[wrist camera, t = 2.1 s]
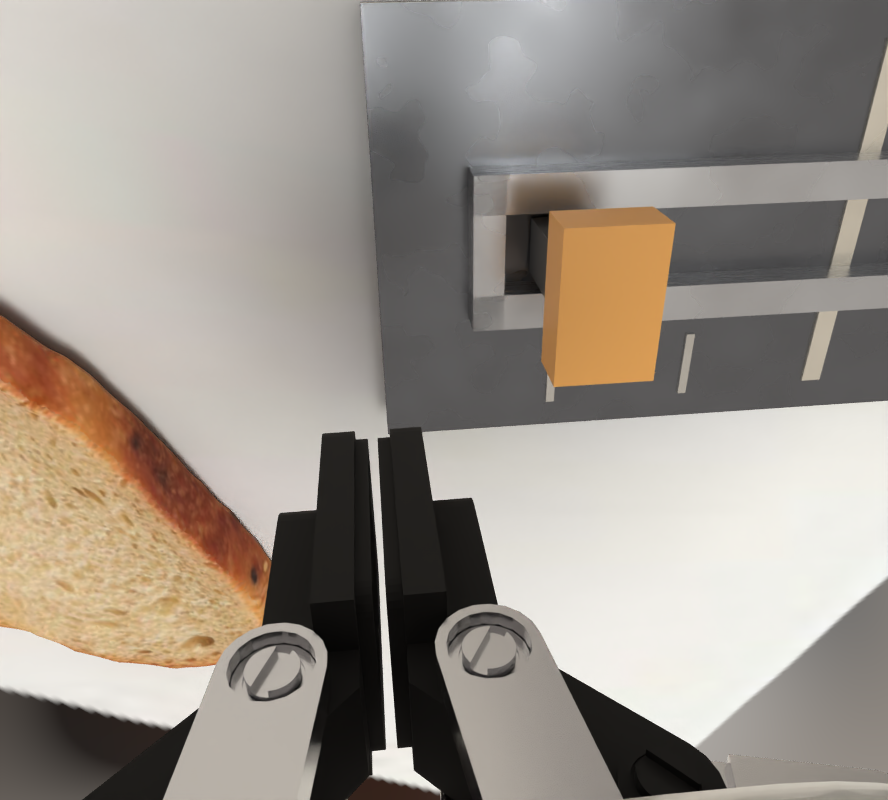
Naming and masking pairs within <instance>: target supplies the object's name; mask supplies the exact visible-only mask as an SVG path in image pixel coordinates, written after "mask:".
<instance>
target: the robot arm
mask: <svg viewBox="0 0 888 800" xmlns="http://www.w3.org/2000/svg"><path fill="white" fill-rule="evenodd" d="M378 454H379V473H380V492H381V511H382V530H383V549H384V568H385V586H386V602H387V616H388V629H389V642H390V655H391V668H392V681H393V694H394V707H395V720H396V733H397V746H398V748H405V747H412V751H413V764H414V770H415V771H416V772H417V773H418V774H420V775H421V776H422V777H424V778H425V779H426V780H428V781H429V782H430V783H431V784H433V785H434V786H435V787H437V788H438V789H439V790H440V796H441V800H888V773H886V772H882V771H879V770H872V769H862V768H854V767H845V766H844V767H843V766H835V765H826V764H817V763H807V762H798V761H788V760H779V759H770V758H760V757H751V756H741V755H733V754H729V755H728V759H727V763H726V762H717V761H710V760H709V759H708V758H707V757H706V756H705V755H704V754H703V753H701V752H700V751H699V750H697V749H696V748H695V747H693V746H692V745H690V744H689V743H687V742H686V741H684V740H682V739H680V738H679V737H677V736H675V735H673V734H672V733H670V732H668V731H666V730H665V729H663V728H661V727H659V726H658V725H656V724H654V723H652V722H651V721H649V720H647V719H645V718H644V717H642V716H640V715H638V714H637V713H635V712H633V711H631V710H630V709H628V708H626V707H624V706H623V705H621V704H619V703H617V702H616V701H614V700H612V699H610V698H609V697H607V696H605V695H604V694H602V693H600V692H598V691H597V690H595V689H593V688H591V687H590V686H588V685H586V684H584V683H583V682H581V681H579V680H577V679H576V678H574V677H572V676H570V675H569V674H567V673H565V672H563V671H562V670H560V669H558V667H557V665H556V663H555V661H554V659H553V657H552V655H551V653H550V651H549V649H548V647H547V645H546V643H545V641H544V639H543V637H542V635H541V633H540V631H539V630H538V629H537V627H536V626H535V624H534V623H533V622H532V621H531V620H530V619H529V618H527V617H526V616H525V615H523V614H522V613H521V612H519V611H516V610H514V609H511V608H509V607H506V606H501V605H498V603H497V599H496V595H495V591H494V587H493V582H492V578H491V574H490V570H489V565H488V561H487V557H486V553H485V549H484V544H483V540H482V536H481V532H480V527H479V523H478V519H477V515H476V511H475V506H474V503H473V500H472V498H463V499H450V500H438V501H433V500H432V494H431V488H430V481H429V475H428V468H427V462H426V455H425V449H424V443H423V436H422V430H421V427H409V428H395V429H390V437H386V438H378ZM378 750H386V739H385V715H384V691H383V667H382V643H381V620H380V596H379V574H378V559H377V547H376V535H375V522H374V510H373V498H372V485H371V473H370V461H369V449H368V439H359V440H356V438H355V432H354V431H353V432H339V433H325V434H322V444H321V457H320V471H319V484H318V498H317V510H313V511H300V512H288V513H280V514H279V516H278V521H277V527H276V534H275V541H274V548H273V554H272V561H271V568H270V575H269V581H268V588H267V595H266V602H265V609H264V615H263V622H262V626H261V627H258V628H255V629H252V630H250V631H248V632H247V633H245V634H243V635H242V636H240V637H238V638H237V639H235V640H234V641H233V642H232V643H231V644H230V645H229V646H228V647H227V648H226V649H225V650H224V652H223V653H222V655H221V657H220V658H219V660H218V662H217V664H216V666H215V669H214V671H213V674H212V676H211V679H210V681H209V684H208V686H207V689H206V692H205V694H204V697H203V699H202V702H201V704H200V707H199V708H198V709H197V710H196V711H194V712H193V713H192V714H191V715H189V716H188V717H187V718H186V719H184V720H183V721H182V722H181V723H179V724H178V725H177V726H175V727H174V728H173V729H172V730H170V731H169V732H168V733H167V734H165V735H164V736H163V737H162V738H160V739H159V740H158V741H156V742H155V743H154V744H153V745H152V746H150V747H149V748H148V749H146V750H145V751H144V752H142V753H141V754H140V755H139V756H137V757H136V758H135V759H134V760H132V761H131V762H130V763H128V764H127V765H126V766H125V767H123V768H122V769H121V770H120V771H119V772H117V773H116V774H114V775H113V776H112V777H111V778H110V779H108V780H107V781H106V782H104V783H103V784H102V785H101V786H99V787H98V788H97V789H95V790H94V791H93V792H92V793H90V794H89V795H88V796H87V797H85V798H84V799H83V800H347V799H348V798H349V797H350V795H351V794H352V793H353V792H354V791H355V790H356V789H357V788H358V787H359V786H360V785H361V784H362V783H363V782H364V781H365V780H366V779H367V777H368V776H369V775H372V751H378Z"/></svg>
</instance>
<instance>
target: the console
mask: <svg viewBox="0 0 888 800" xmlns="http://www.w3.org/2000/svg"><path fill="white" fill-rule="evenodd" d="M360 9H361V25H362V40H363V55H364V71H365V86H366V102H367V117H368V132H369V148H370V163H371V178H372V194H373V209H374V224H375V240H376V255H377V270H378V286H379V301H380V316H381V332H382V347H383V362H384V378H385V393H386V408H387V424H388V434H390V429H395V428H409V427H421V430H422V432H426V431H441V430H456V429H471V428H486V427H501V426H516V425H530V424H545V423H560V422H575V421H590V420H605V419H620V418H635V417H650V416H665V415H679V414H694V413H709V412H724V411H739V410H754V409H769V408H784V407H799V406H813V405H828V404H843V403H858V402H873V401H888V0H436V1H390V2H360ZM651 206H653V207H655V208H656V209H657V210H659V211H660V212H661V213H663V214H664V215H665V216H667V217H668V218H669V219H671V220H672V221H673V222H675V223H676V225H675V232H674V239H673V246H672V253H671V260H670V267H669V274H668V281H667V288H666V295H665V302H664V309H663V316H662V323H661V331H660V338H659V345H658V352H657V359H656V366H655V373H654V380H653V381H642V382H626V383H611V384H595V385H579V386H563V387H553V385H552V382H551V380H550V378H549V376H548V374H547V372H546V370H545V368H544V366H543V364H542V362H541V356H542V337H543V319H544V301H545V298H544V296H543V294H542V292H541V291H540V289H539V287H538V286H537V284H536V282H535V281H534V279H533V277H532V276H531V274H530V272H529V264H530V240H531V218H535V217H549V211H561V210H583V209H606V208H629V207H651Z"/></svg>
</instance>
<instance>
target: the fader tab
mask: <svg viewBox="0 0 888 800" xmlns="http://www.w3.org/2000/svg"><path fill="white" fill-rule="evenodd" d="M675 225H676V223H675V222H673V221H672V220H671V219H669V218H668V217H667V216H665V215H664V214H663V213H661V212H660V211H659V210H657V209H656V208H655V207H653V206H651V207H629V208H606V209H583V210H561V211H549V217H535V218H531V240H530V264H529V272H530V274H531V276H532V277H533V279H534V281H535V282H536V284H537V286H538V287H539V289H540V291H541V292H542V294H543V296H544V298H545V301H544V319H543V337H542V356H541V362H542V364H543V366H544V368H545V370H546V372H547V374H548V376H549V378H550V380H551V382H552V385H553V387H563V386H579V385H595V384H611V383H626V382H642V381H653V380H654V373H655V366H656V359H657V352H658V345H659V338H660V331H661V323H662V316H663V309H664V302H665V295H666V288H667V281H668V274H669V267H670V260H671V253H672V246H673V239H674V232H675Z"/></svg>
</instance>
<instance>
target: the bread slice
mask: <svg viewBox="0 0 888 800" xmlns="http://www.w3.org/2000/svg"><path fill="white" fill-rule="evenodd" d="M270 568H271V560H270V559H269V557H268V556H267V555H266V554H265V552H264V551H263V549H262V547H261V545H260V543H259V542H258V540H257V539H256V538H255V537H254V536H253V535H252V534H250V533H249V532H248V531H247V530H246V529H245V528H244V527H243V526H242V525H241V523H240V522H239V521H238V519H237V518H236V516H235V515H234V514H233V512H232V511H231V510H230V509H228V508H227V507H225V506H224V505H222V504H221V503H220V502H219V501H217V500H216V499H215V497H214V496H213V495H212V494H211V493H210V491H209V490H208V489H207V488H206V487H205V485H204V484H203V483H202V482H201V481H200V480H198V479H197V478H196V477H194V476H193V475H192V474H191V473H190V471H189V470H188V469H187V468H186V467H185V466H184V465H183V463H182V462H181V461H180V460H179V459H178V458H177V457H176V456H175V455H174V454H173V453H172V452H171V450H170V449H169V448H168V447H167V446H166V445H165V444H164V443H163V442H162V441H161V440H160V439H159V438H157V437H156V436H155V435H154V434H153V433H152V432H151V431H150V430H149V429H148V428H147V427H146V426H145V425H144V424H143V423H142V422H141V421H140V420H139V419H138V418H137V417H136V416H135V415H134V414H133V413H132V412H131V411H130V410H129V409H128V408H126V407H125V406H124V405H123V404H121V403H120V402H119V401H118V400H117V399H116V398H115V397H113V396H112V395H111V394H110V393H109V392H108V391H107V390H106V389H105V388H104V387H103V386H102V385H101V384H99V383H98V381H97V380H96V379H95V378H93V377H92V376H91V375H90V374H89V373H88V372H86V371H85V370H84V369H82V368H81V367H79V366H78V365H77V364H75V363H74V362H73V361H71V360H70V359H69V358H67V357H66V356H64V355H62V354H60V353H58V352H55V351H53V350H51V349H49V348H47V347H46V346H44V345H43V344H41V343H40V342H38V341H37V340H36V339H34V338H33V337H32V336H30V335H29V334H27V333H26V332H24V331H23V330H21V329H20V328H18V327H17V326H16V325H14V324H13V323H12V322H10V321H9V320H7V319H6V318H4V317H3V316H1V315H0V627H7V628H15V629H20V630H25V631H29V632H31V633H33V634H35V635H37V636H40V637H43V638H46V639H49V640H52V641H54V642H57V643H60V644H62V645H64V646H66V647H68V648H70V649H72V650H74V651H77V652H82V653H86V654H89V655H94V656H98V657H101V658H105V659H109V660H112V661H116V662H125V663H137V664H149V665H156V666H163V667H168V668H184V667H201V666H210V665H216V664H217V662H218V660H219V658H220V657H221V655H222V653H223V652H224V650H225V649H226V648H227V647H228V646H229V645H230V644H231V643H232V642H233V641H234V640H235V639H237V638H238V637H240V636H242V635H243V634H245V633H247V632H248V631H250V630H252V629H255V628H258V627H261V626H262V622H263V615H264V609H265V602H266V595H267V588H268V581H269V575H270Z"/></svg>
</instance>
